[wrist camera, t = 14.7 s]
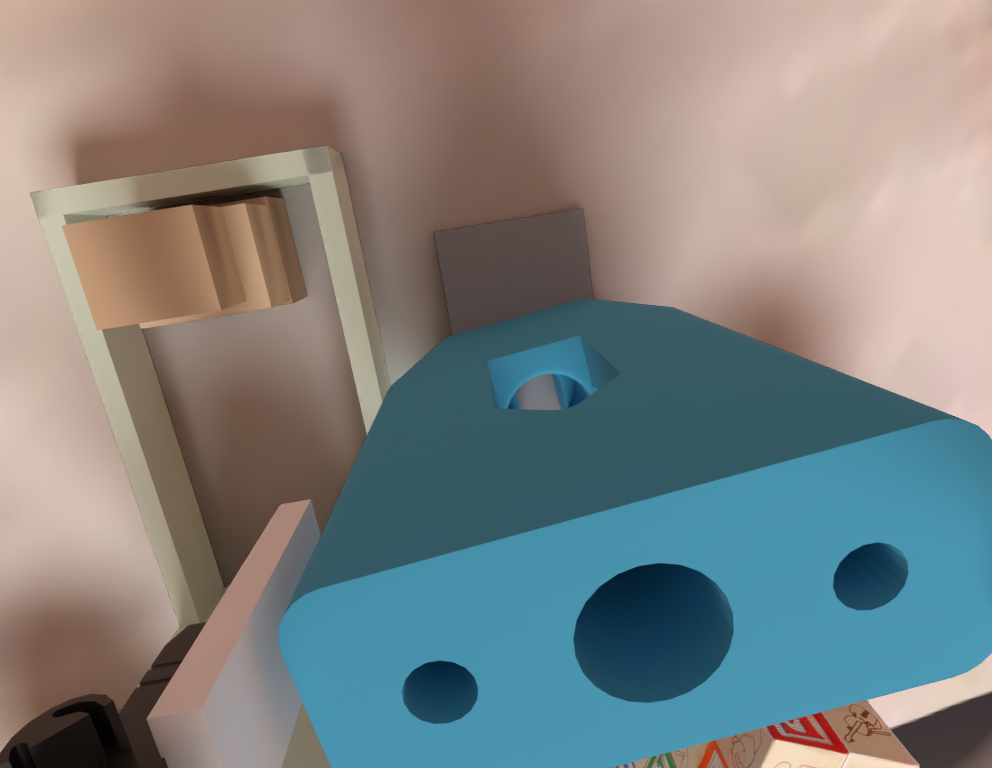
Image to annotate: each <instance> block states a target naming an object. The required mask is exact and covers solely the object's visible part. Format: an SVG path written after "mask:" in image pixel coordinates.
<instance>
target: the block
mask: <svg viewBox="0 0 992 768" xmlns="http://www.w3.org/2000/svg"><path fill="white" fill-rule="evenodd" d="M543 374H552V376H553V380H554V384H555V388H556V392H557V396H558V400H559V404H560V407H561V410H530V409H520V407H519V403H518V399H517V396H516V391H517V389H518V388H519V387H520V386H522V385H523V384H524V383H525V382H526V381H528V380H530V379H532V378H534V377H536V376H540V375H543ZM278 643H279V647H280V650H281V654H282V657H283V659H284V662H285V664H286V666H287V668H288V671H289V673H290V675H291V677H292V680H293V682H294V684H295V686H296V689H297V691H298V693H299V695H300V698H301V700H302V702H303V705H304V707H305V709H306V711H307V714H308V716H309V718H310V720H311V723H312V725H313V727H314V729H315V732H316V734H317V736H318V738H319V741H320V743H321V745H322V747H323V750H324V752H325V754H326V757H327V759H328V761H329V763H330V766H331V768H612V767H616V766H620V765H623V764H627V763H631V762H635V761H638V760H642V759H646V758H650V757H654V756H657V755H661V754H665V753H669V752H672V751H676V750H680V749H684V748H687V747H691V746H695V745H699V744H703V743H706V742H710V741H714V740H718V739H721V738H725V737H729V736H733V735H737V734H740V733H744V732H748V731H752V730H755V729H759V728H763V727H767V726H771V725H774V724H778V723H782V722H786V721H789V720H793V719H797V718H801V717H805V716H808V715H812V714H816V713H820V712H823V711H827V710H831V709H835V708H839V707H842V706H846V705H850V704H854V703H857V702H861V701H865V700H869V699H873V698H876V697H880V696H884V695H888V694H891V693H895V692H899V691H903V690H907V689H910V688H914V687H918V686H922V685H925V684H929V683H933V682H937V681H941V680H944V679H948V678H952V677H955V676H958V675H960V674H963V673H966V672H968V671H969V670H971V669H973V668H974V667H976V666H977V665H979V664H980V663H982V662H983V661H984V660H985V659H986V658H987V657H988V656H989V655H990V654H991V653H992V440H991V438H990V436H989V435H988V434H987V433H986V432H985V431H983V430H982V429H981V428H980V427H979V426H977V425H975V424H972V423H970V422H968V421H965V420H963V419H960V418H958V417H955V416H952V415H950V414H947V413H945V412H942V411H939V410H937V409H934V408H932V407H929V406H927V405H924V404H921V403H919V402H916V401H914V400H911V399H908V398H906V397H903V396H901V395H898V394H896V393H893V392H890V391H888V390H885V389H883V388H880V387H877V386H875V385H872V384H870V383H867V382H864V381H862V380H859V379H857V378H854V377H852V376H849V375H846V374H844V373H841V372H839V371H836V370H833V369H831V368H828V367H826V366H823V365H821V364H818V363H815V362H813V361H810V360H808V359H805V358H802V357H800V356H797V355H795V354H792V353H790V352H787V351H784V350H782V349H779V348H777V347H774V346H771V345H769V344H766V343H764V342H761V341H759V340H756V339H753V338H751V337H748V336H746V335H743V334H740V333H738V332H735V331H733V330H730V329H727V328H725V327H722V326H720V325H717V324H715V323H712V322H709V321H707V320H704V319H702V318H699V317H696V316H694V315H691V314H689V313H686V312H684V311H681V310H678V309H676V308H673V307H665V306H655V305H645V304H635V303H625V302H614V301H604V300H594V299H580V300H577V301H573V302H569V303H566V304H562V305H559V306H555V307H552V308H548V309H544V310H541V311H537V312H534V313H530V314H527V315H523V316H519V317H516V318H512V319H509V320H505V321H502V322H498V323H494V324H491V325H487V326H484V327H480V328H477V329H473V330H469V331H466V332H462V333H459V334H455V335H452V336H449V337H447V338H445V339H444V340H443V341H441V342H440V343H439V344H438V345H437V346H436V347H435V348H434V349H432V350H431V351H430V352H429V353H428V354H427V355H426V356H424V357H423V358H422V359H421V360H420V361H419V362H418V363H417V364H415V365H414V366H413V367H412V368H411V369H410V370H409V371H408V372H406V373H405V374H404V375H403V376H402V377H401V378H400V379H398V380H397V381H396V382H395V383H394V384H393V385H392V386H391V387H390V388H389V390H388V391H387V393H386V395H385V397H384V399H383V402H382V404H381V406H380V408H379V410H378V412H377V415H376V417H375V419H374V421H373V423H372V425H371V428H370V430H369V432H368V434H367V436H366V438H365V441H364V443H363V445H362V447H361V449H360V451H359V454H358V456H357V458H356V460H355V462H354V464H353V466H352V469H351V471H350V473H349V475H348V477H347V479H346V482H345V484H344V486H343V488H342V490H341V492H340V495H339V497H338V499H337V501H336V503H335V505H334V508H333V510H332V512H331V514H330V516H329V518H328V521H327V523H326V525H325V527H324V529H323V531H322V534H321V536H320V538H319V540H318V542H317V544H316V547H315V549H314V551H313V553H312V555H311V557H310V560H309V562H308V564H307V566H306V568H305V570H304V572H303V575H302V577H301V579H300V581H299V583H298V585H297V588H296V590H295V592H294V594H293V596H292V598H291V601H290V603H289V605H288V607H287V609H286V611H285V614H284V616H283V619H282V621H281V624H280V627H279V637H278Z"/></svg>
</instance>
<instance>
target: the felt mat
mask: <svg viewBox="0 0 992 768" xmlns="http://www.w3.org/2000/svg"><path fill="white" fill-rule="evenodd" d="M434 236H435V241H436V247H437V252H438V258H439V264H440V269H441V275H442V281H443V286H444V292H445V297H446V303H447V309H448V314H449V320H450V326H451V331H452V335H455V334H459V333H462V332H466V331H469V330H473V329H477V328H480V327H484V326H487V325H491V324H494V323H498V322H502V321H505V320H509V319H512V318H516V317H519V316H523V315H527V314H530V313H534V312H537V311H541V310H544V309H548V308H552V307H555V306H559V305H562V304H566V303H569V302H573V301H577V300H580V299H593V293H592V284H591V275H590V266H589V257H588V248H587V239H586V230H585V222H584V213H583V208H581V209H575V210H568V211H562V212H556V213H550V214H544V215H537V216H531V217H525V218H519V219H513V220H506V221H500V222H494V223H488V224H482V225H475V226H469V227H463V228H457V229H451V230H445V231H438V232H434ZM516 396H517V399H518V403H519V407H520V409H530V410H561V407H560V404H559V400H558V396H557V392H556V388H555V384H554V380H553V376H552V374H543V375H540V376H536V377H534V378H532V379H530V380H528V381H526V382H525V383H524V384H523V385H522V386H520V387H519V388H518V389H517V391H516Z"/></svg>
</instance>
